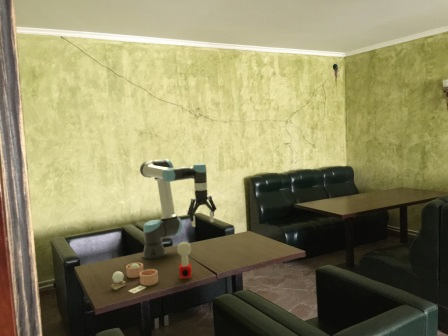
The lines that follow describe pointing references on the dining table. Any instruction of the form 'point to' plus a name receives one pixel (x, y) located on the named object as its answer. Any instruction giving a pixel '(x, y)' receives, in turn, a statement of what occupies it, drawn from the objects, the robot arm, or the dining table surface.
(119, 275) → the ball grey
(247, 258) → the dining table surface
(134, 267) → the ball sage
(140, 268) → the cup
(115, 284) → the cradle
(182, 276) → the toy
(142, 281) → the cup
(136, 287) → the card
